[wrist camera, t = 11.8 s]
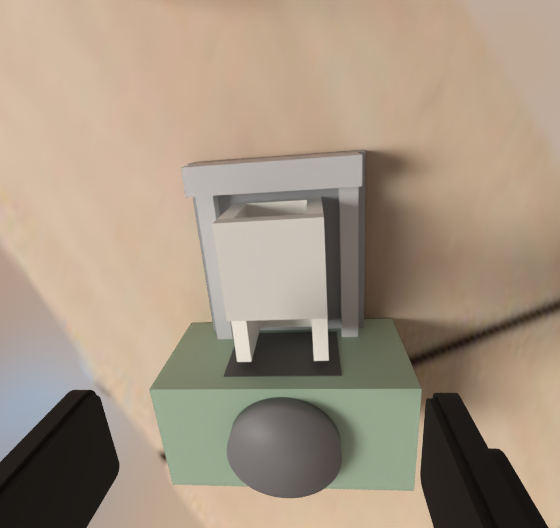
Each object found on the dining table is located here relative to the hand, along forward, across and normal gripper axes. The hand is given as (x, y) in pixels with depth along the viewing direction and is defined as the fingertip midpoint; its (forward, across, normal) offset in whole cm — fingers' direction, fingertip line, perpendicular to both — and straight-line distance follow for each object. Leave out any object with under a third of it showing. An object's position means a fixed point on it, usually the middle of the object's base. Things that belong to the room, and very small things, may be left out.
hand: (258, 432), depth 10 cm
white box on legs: (+13, 0, 0) cm, 13 cm away
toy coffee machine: (+14, 0, +2) cm, 14 cm away
